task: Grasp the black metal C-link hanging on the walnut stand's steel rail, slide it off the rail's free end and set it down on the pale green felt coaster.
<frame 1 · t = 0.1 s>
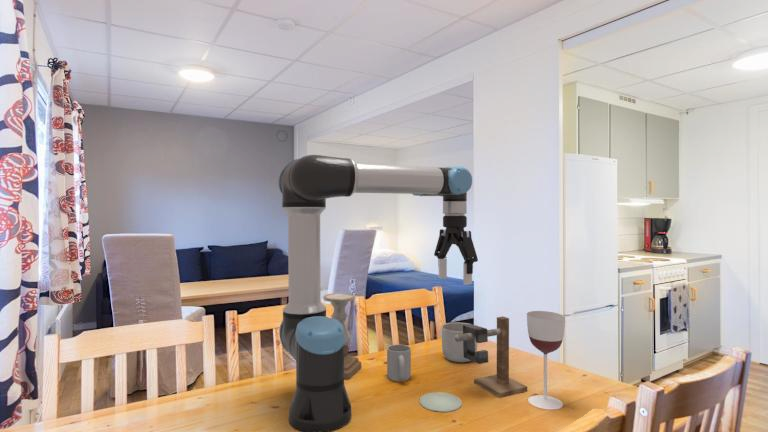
hand: (454, 281, 140), 28 cm above the table, fingers open, 13 cm apart
wineglass: (545, 402, 115), on the table
stand: (494, 388, 124), on the table
cup: (399, 379, 131), on the table
candle holder: (339, 371, 137), on the table
coaster: (440, 402, 115), on the table
planter: (459, 359, 149), on the table
link: (475, 359, 121), point 9 cm above the table, touching stand
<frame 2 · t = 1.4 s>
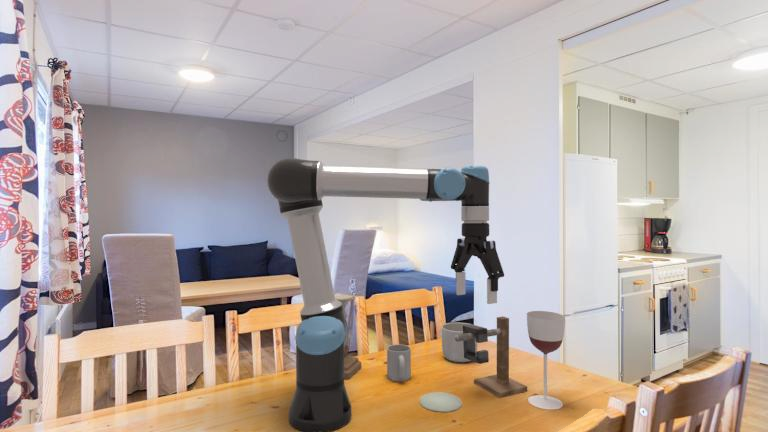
hand: (475, 298, 121), 26 cm above the table, fingers open, 13 cm apart
nothing on the table moved.
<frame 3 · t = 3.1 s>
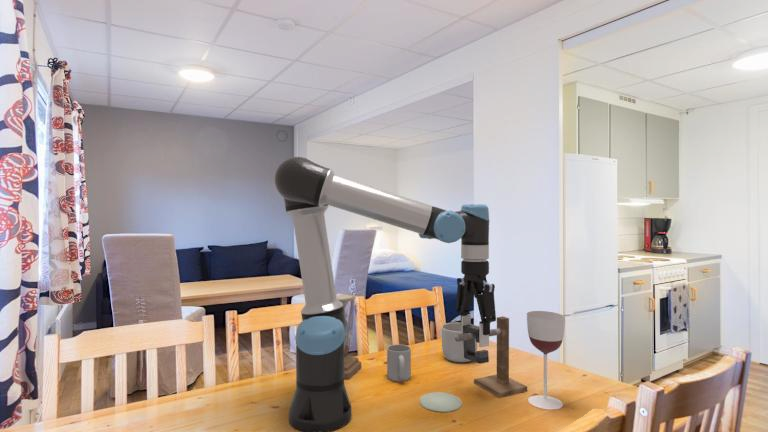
hand: (474, 342, 121), 14 cm above the table, fingers closed on link, 7 cm apart
link: (476, 359, 120), point 9 cm above the table, touching gripper, stand
everything else where it was.
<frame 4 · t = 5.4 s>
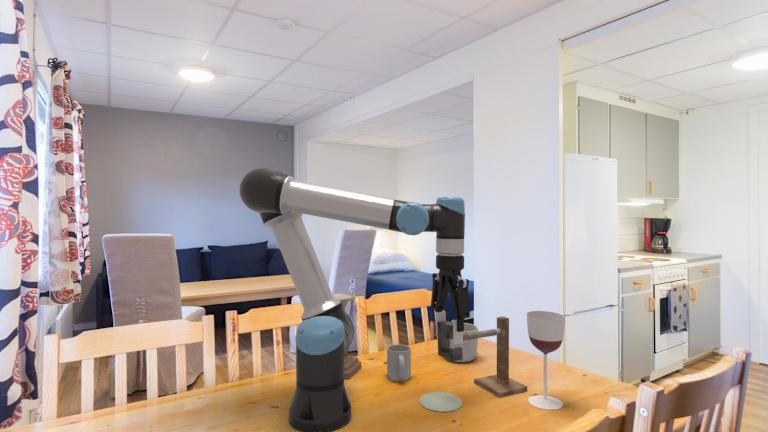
hand: (449, 339, 117), 16 cm above the table, fingers closed on link, 7 cm apart
link: (450, 357, 117), point 11 cm above the table, touching gripper
everything else where it was.
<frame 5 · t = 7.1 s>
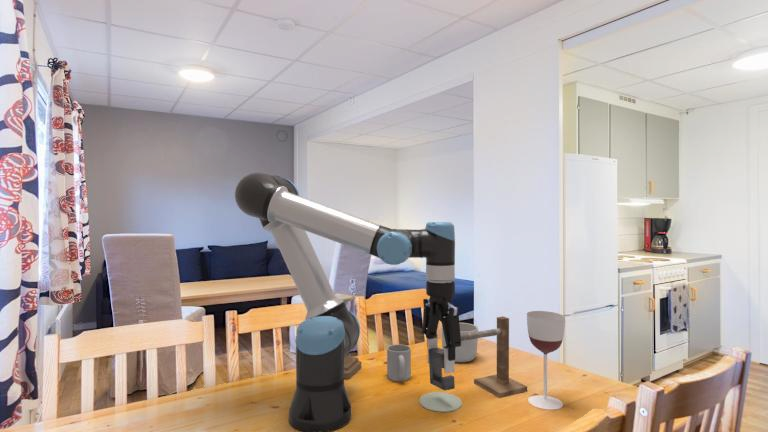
hand: (440, 367, 115), 9 cm above the table, fingers closed on link, 7 cm apart
link: (442, 385, 114), point 5 cm above the table, touching gripper
everything else where it was.
when the fingers open (6 cm above the table, at t = 8.1 s): link drops 1 cm, resting on coaster.
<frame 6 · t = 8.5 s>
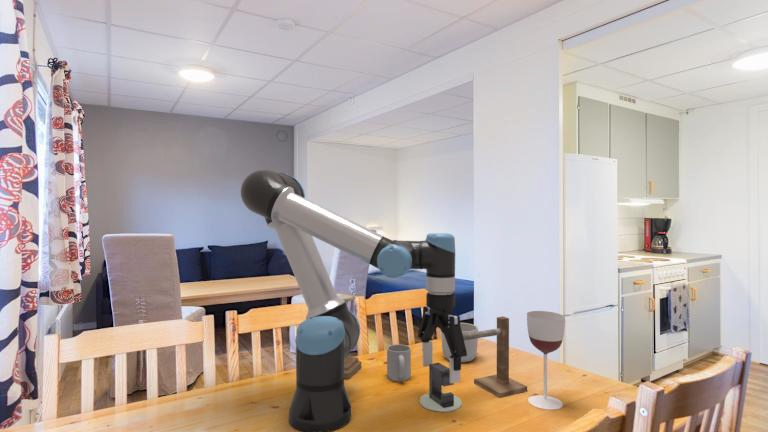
hand: (440, 373, 115), 8 cm above the table, fingers open, 12 cm apart
link: (441, 401, 114), resting on coaster
everything else where it was.
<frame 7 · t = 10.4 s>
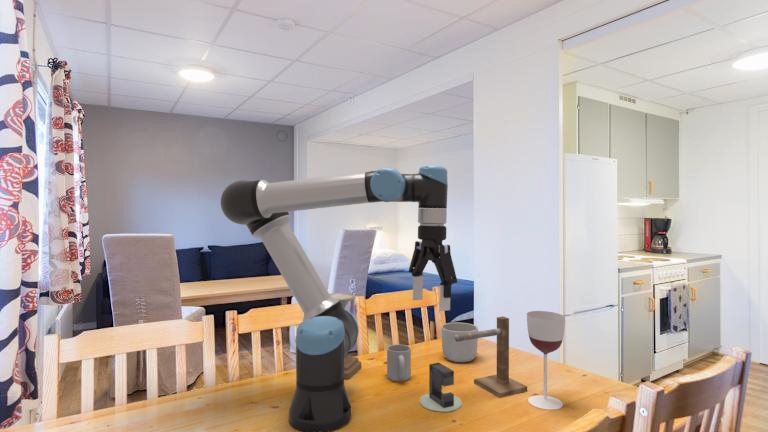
hand: (430, 304, 116), 26 cm above the table, fingers open, 13 cm apart
nothing on the table moved.
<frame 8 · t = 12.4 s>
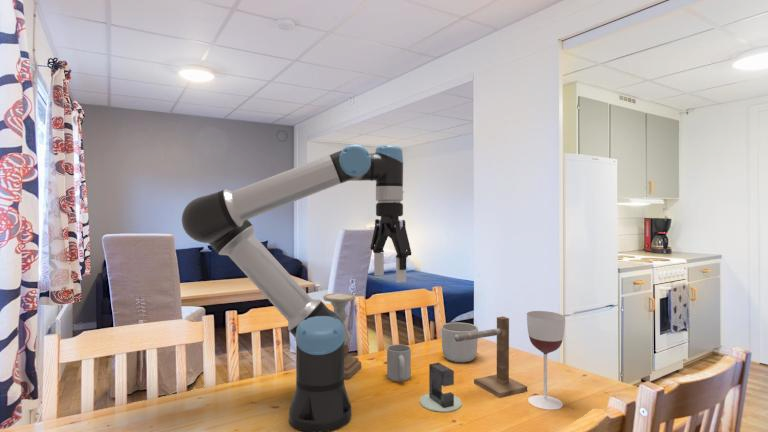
hand: (389, 278, 121), 32 cm above the table, fingers open, 13 cm apart
nothing on the table moved.
at the end: link inside the target area on the coaster (0.4 cm from its centre), point 0.4 cm above the coaster's base; link touching coaster; the gripper is holding nothing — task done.
